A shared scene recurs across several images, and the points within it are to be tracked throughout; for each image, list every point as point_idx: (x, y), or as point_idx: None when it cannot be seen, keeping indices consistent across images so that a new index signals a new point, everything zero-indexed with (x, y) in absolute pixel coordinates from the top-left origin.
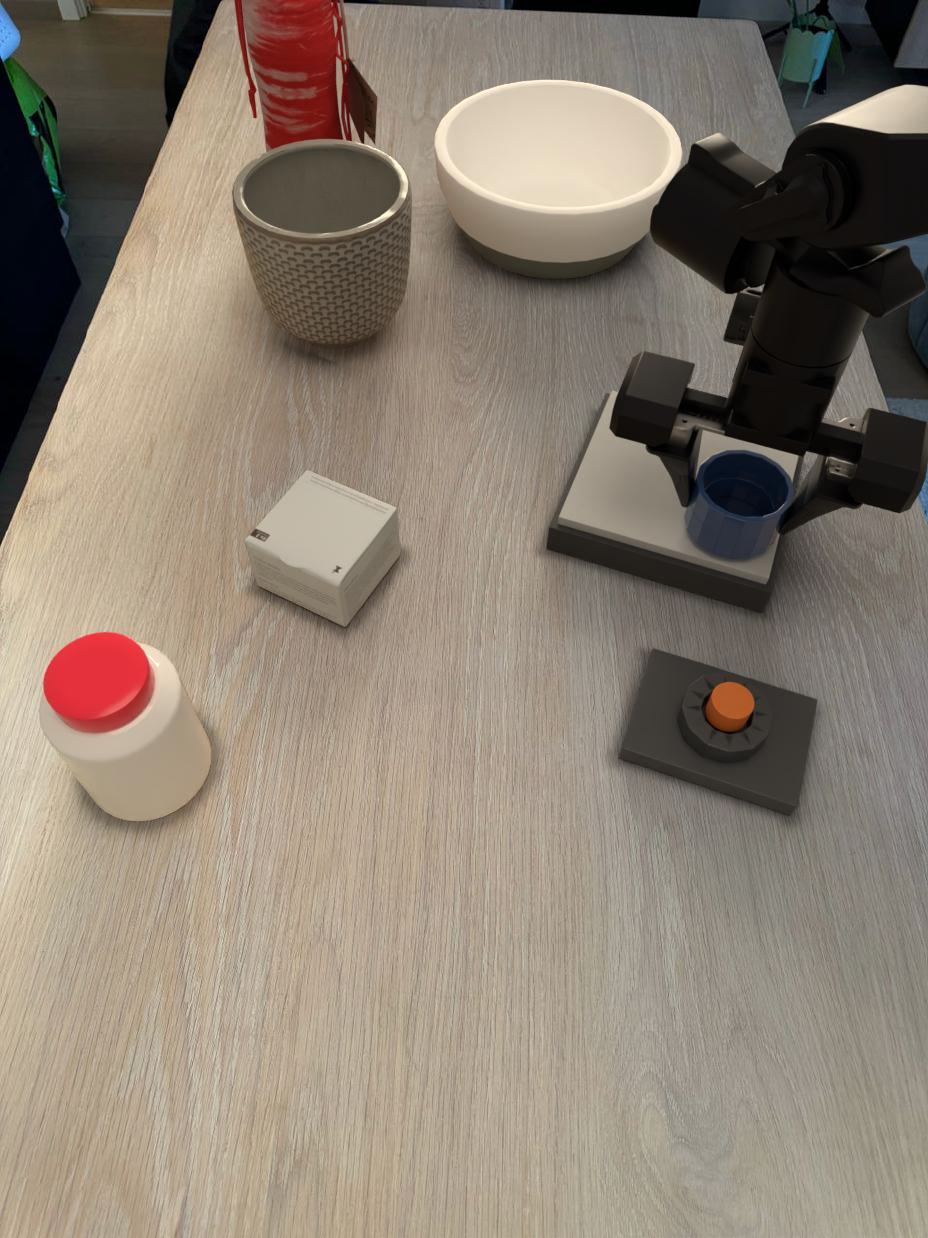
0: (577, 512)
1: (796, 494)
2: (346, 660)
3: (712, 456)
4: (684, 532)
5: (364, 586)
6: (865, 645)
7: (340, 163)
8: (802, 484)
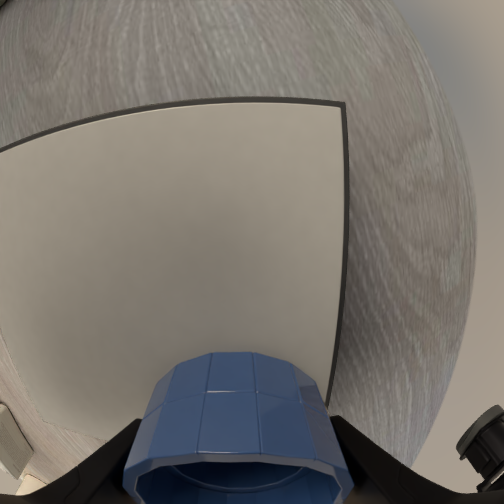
0: (50, 415)
1: (358, 475)
2: (50, 466)
3: (128, 474)
4: None
5: (18, 450)
6: (414, 389)
7: None
8: (372, 492)
